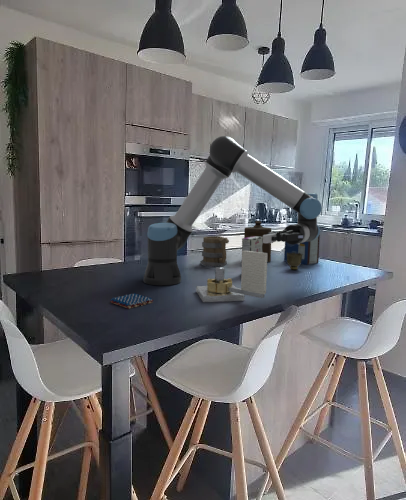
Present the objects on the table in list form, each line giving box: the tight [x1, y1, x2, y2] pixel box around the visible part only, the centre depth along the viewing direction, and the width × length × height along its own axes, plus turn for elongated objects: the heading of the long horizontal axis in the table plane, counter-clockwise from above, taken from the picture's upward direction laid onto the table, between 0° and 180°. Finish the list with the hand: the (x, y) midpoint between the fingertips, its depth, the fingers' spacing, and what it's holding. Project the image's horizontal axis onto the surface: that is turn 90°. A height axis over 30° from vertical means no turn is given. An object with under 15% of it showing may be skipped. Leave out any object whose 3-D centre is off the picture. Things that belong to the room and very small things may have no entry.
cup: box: [286, 252, 303, 271], centre depth 180 cm, size 8×7×8 cm
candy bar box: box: [241, 236, 263, 252], centre depth 170 cm, size 11×5×16 cm, turn 143°
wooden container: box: [243, 220, 272, 263], centre depth 202 cm, size 15×15×22 cm
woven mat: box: [109, 292, 154, 310], centre depth 121 cm, size 10×11×2 cm
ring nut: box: [206, 250, 268, 299], centre depth 124 cm, size 22×8×15 cm, turn 50°
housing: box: [195, 266, 246, 303], centre depth 129 cm, size 14×14×10 cm
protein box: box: [283, 234, 321, 266], centre depth 201 cm, size 10×15×16 cm
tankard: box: [200, 235, 230, 268], centre depth 187 cm, size 20×13×15 cm, turn 25°
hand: (264, 239), depth 125 cm, fingers closed
